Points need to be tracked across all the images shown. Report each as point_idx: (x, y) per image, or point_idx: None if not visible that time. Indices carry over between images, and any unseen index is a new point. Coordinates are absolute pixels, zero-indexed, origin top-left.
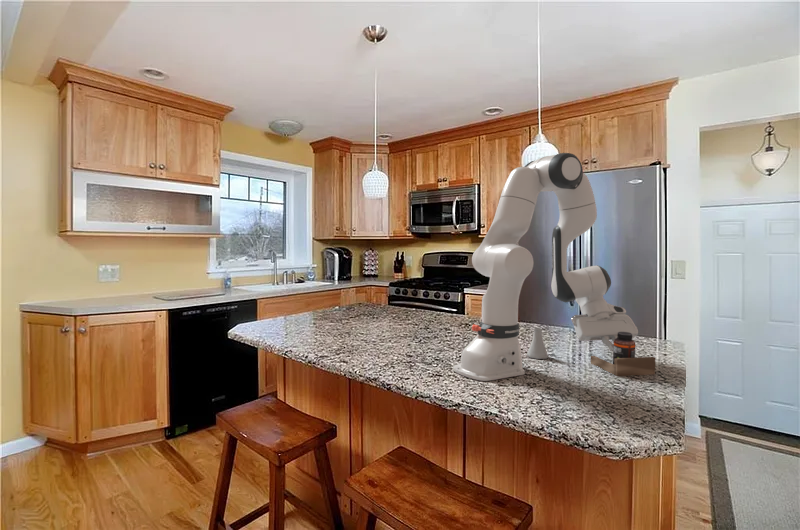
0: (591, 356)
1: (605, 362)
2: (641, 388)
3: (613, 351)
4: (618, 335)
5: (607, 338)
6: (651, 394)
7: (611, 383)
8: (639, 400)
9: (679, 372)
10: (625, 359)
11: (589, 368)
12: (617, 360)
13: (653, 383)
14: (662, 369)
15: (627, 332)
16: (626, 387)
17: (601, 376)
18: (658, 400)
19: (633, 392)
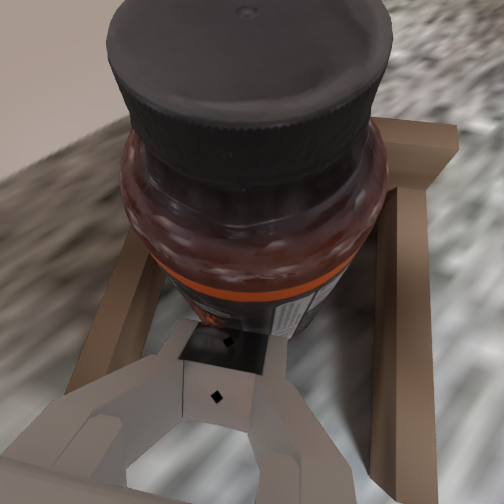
0: (436, 496)
1: (428, 277)
2: (400, 74)
3: (336, 283)
4: (376, 88)
5: (300, 478)
6: (409, 35)
7: (500, 136)
8: (494, 13)
9: (36, 162)
10: (383, 120)
11: (490, 369)
12: (449, 131)
13: None
14: (55, 214)
15: (142, 30)
16: (459, 92)
17: (495, 220)
18: (426, 5)
19: (466, 56)
